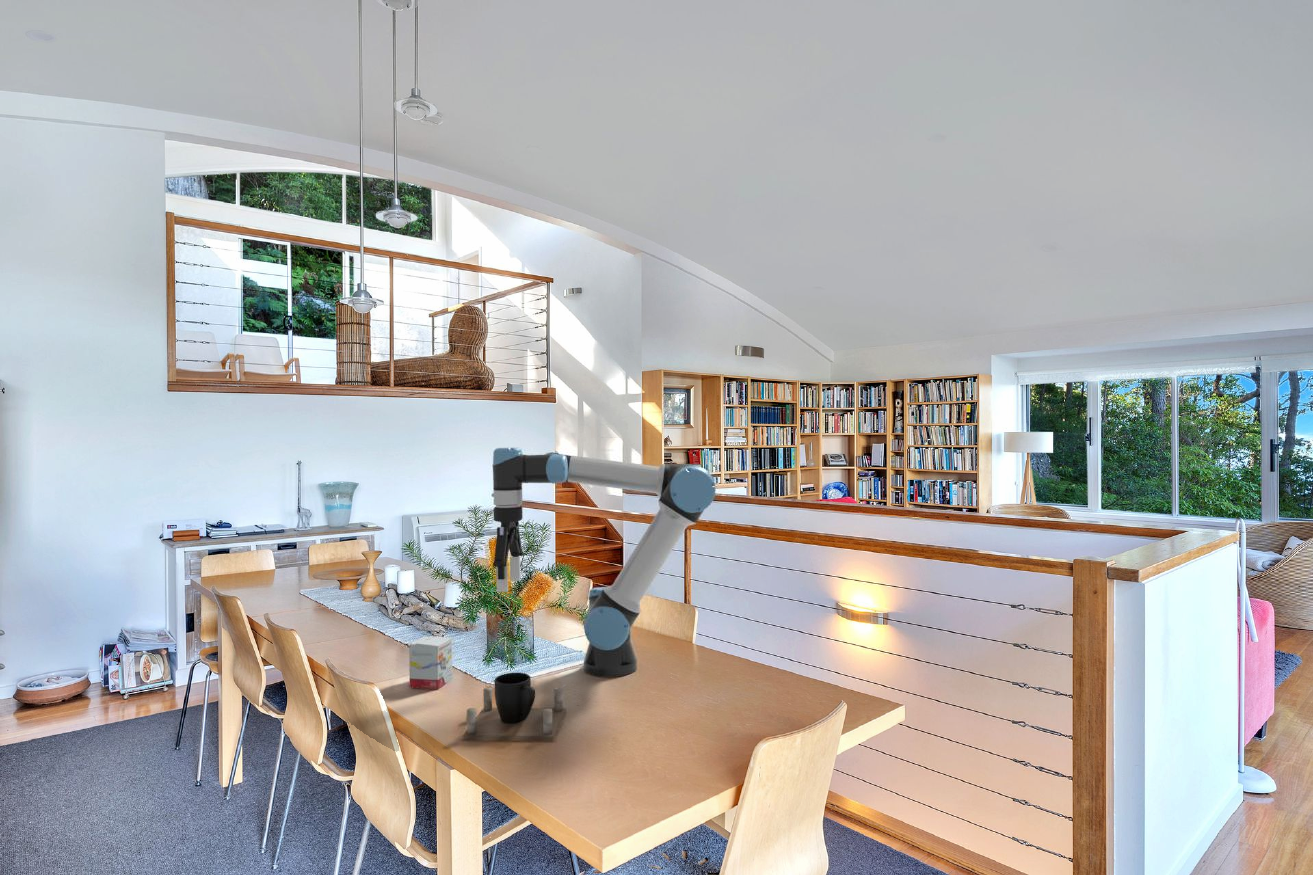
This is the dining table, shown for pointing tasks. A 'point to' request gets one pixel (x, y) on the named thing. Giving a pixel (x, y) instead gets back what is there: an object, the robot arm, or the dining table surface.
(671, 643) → the dining table surface
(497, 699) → the mug
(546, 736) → the brown board with pegs
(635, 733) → the dining table surface
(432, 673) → the ink box
